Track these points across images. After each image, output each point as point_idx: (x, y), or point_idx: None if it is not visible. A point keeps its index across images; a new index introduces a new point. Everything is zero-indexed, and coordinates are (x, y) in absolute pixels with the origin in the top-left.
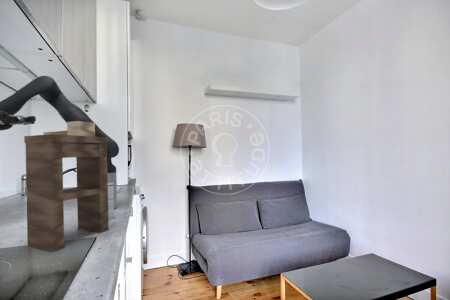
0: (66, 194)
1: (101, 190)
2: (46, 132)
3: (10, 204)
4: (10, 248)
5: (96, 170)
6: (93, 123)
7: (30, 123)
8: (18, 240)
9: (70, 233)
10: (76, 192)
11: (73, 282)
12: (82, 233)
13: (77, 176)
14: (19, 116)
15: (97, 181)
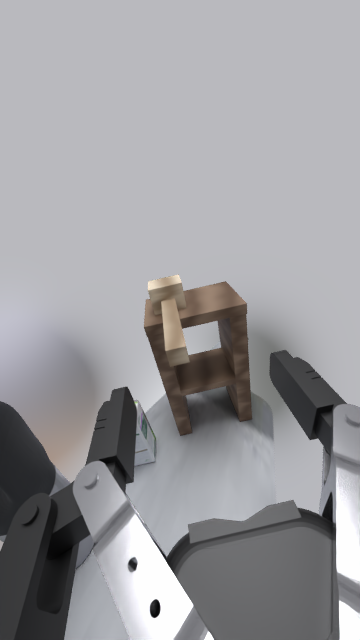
0: (217, 349)
1: None
2: (184, 339)
3: None
4: (267, 431)
5: None
6: (151, 281)
7: (73, 557)
8: (258, 458)
9: (205, 425)
10: (205, 353)
11: None
12: (197, 412)
13: (176, 376)
14: (145, 533)
15: None
